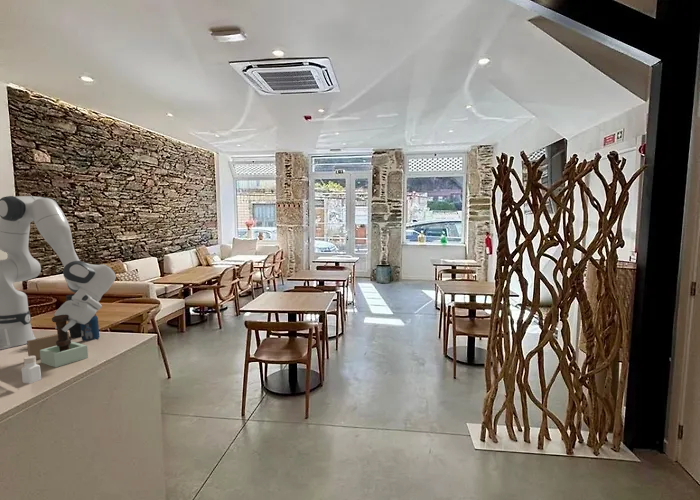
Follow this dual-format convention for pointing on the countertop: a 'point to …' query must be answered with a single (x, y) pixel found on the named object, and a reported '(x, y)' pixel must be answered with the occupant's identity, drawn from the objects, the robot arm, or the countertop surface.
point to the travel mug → (76, 329)
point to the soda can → (90, 329)
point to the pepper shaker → (30, 370)
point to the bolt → (62, 332)
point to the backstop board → (41, 344)
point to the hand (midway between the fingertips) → (60, 330)
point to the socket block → (63, 354)
